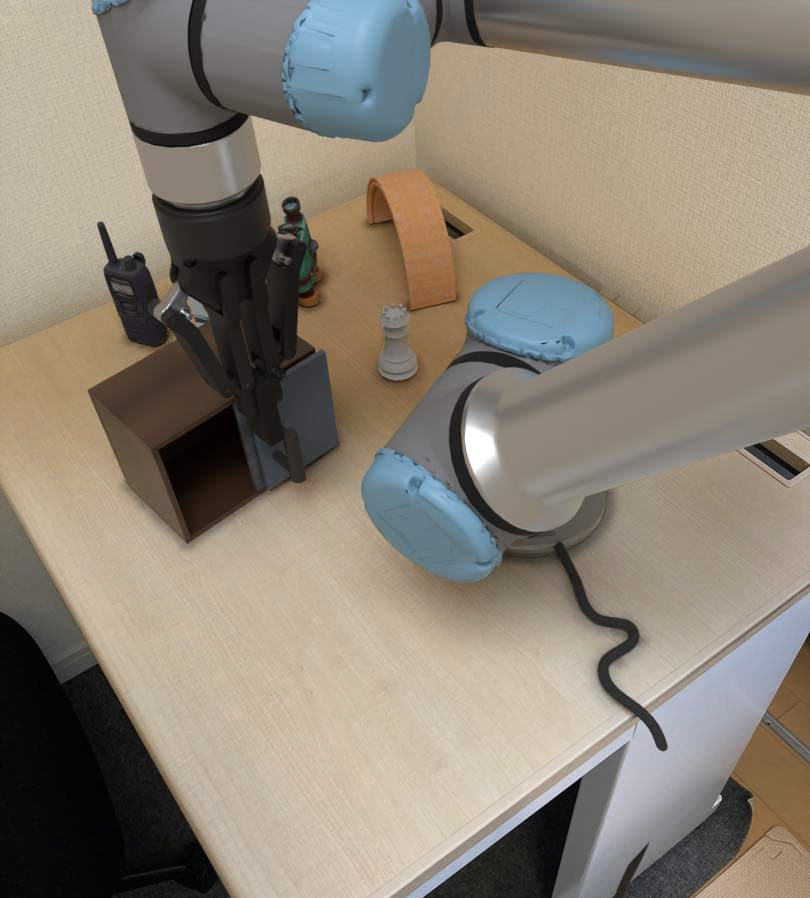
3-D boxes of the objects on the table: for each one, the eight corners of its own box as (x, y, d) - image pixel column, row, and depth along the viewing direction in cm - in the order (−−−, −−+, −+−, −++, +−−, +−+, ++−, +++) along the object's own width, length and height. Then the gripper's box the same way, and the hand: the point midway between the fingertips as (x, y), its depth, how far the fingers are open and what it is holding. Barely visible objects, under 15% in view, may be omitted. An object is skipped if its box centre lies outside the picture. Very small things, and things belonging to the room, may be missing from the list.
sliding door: (365, 463, 91) (355, 372, 82) (296, 512, 87) (276, 422, 78) (335, 440, 93) (321, 348, 84) (266, 487, 90) (243, 396, 80)
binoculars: (228, 199, 106) (312, 188, 105) (253, 275, 114) (331, 266, 113) (217, 243, 100) (305, 232, 99) (244, 320, 109) (326, 311, 107)
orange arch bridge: (409, 310, 107) (405, 235, 99) (367, 219, 119) (360, 146, 111) (456, 300, 108) (456, 224, 100) (409, 211, 120) (406, 137, 112)
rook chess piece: (396, 389, 98) (391, 330, 92) (369, 369, 101) (363, 310, 94) (426, 369, 100) (424, 310, 94) (400, 350, 102) (396, 291, 96)
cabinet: (331, 446, 94) (315, 347, 84) (187, 544, 87) (150, 448, 76) (269, 398, 99) (247, 299, 89) (128, 486, 92) (86, 389, 82)
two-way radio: (121, 340, 106) (78, 226, 94) (142, 317, 109) (103, 203, 97) (160, 351, 105) (122, 236, 93) (181, 328, 107) (146, 213, 95)
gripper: (250, 125, 65) (299, 378, 83) (91, 200, 59) (181, 452, 78) (317, 161, 61) (353, 418, 79) (154, 245, 56) (233, 498, 74)
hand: (268, 435), depth 79 cm, fingers closed
